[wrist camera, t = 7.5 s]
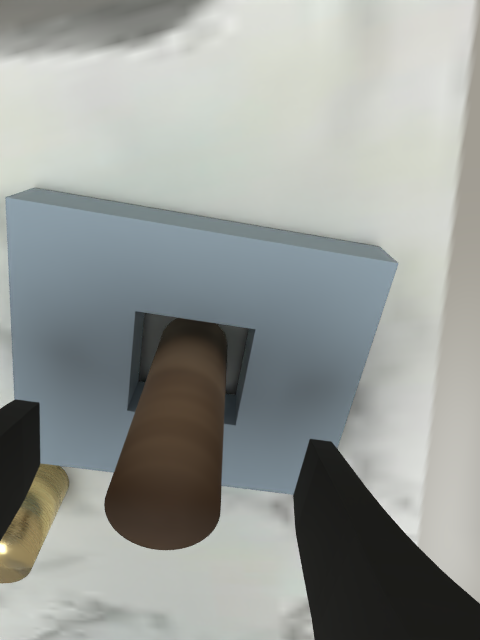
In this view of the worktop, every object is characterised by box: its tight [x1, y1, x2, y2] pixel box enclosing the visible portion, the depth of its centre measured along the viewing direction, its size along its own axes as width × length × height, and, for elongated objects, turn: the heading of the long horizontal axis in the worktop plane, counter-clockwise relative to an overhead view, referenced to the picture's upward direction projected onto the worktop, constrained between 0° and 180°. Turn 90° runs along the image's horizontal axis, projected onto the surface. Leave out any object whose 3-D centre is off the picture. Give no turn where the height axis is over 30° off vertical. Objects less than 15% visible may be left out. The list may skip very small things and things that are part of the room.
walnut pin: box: [105, 318, 227, 550], centre depth 14 cm, size 3×3×8 cm
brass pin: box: [0, 463, 69, 583], centre depth 18 cm, size 3×3×4 cm
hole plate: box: [6, 188, 398, 494], centre depth 16 cm, size 10×12×2 cm
